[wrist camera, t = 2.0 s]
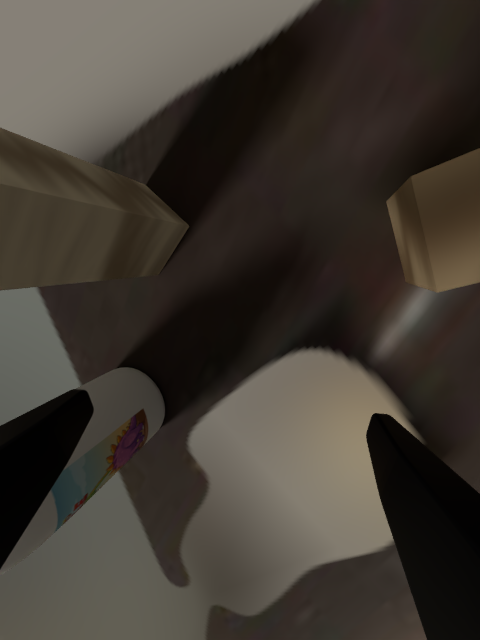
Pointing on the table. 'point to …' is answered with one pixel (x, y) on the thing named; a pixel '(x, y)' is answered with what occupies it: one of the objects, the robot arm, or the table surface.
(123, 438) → the milk bottle
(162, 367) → the table surface
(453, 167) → the oak cube
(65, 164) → the maple block
